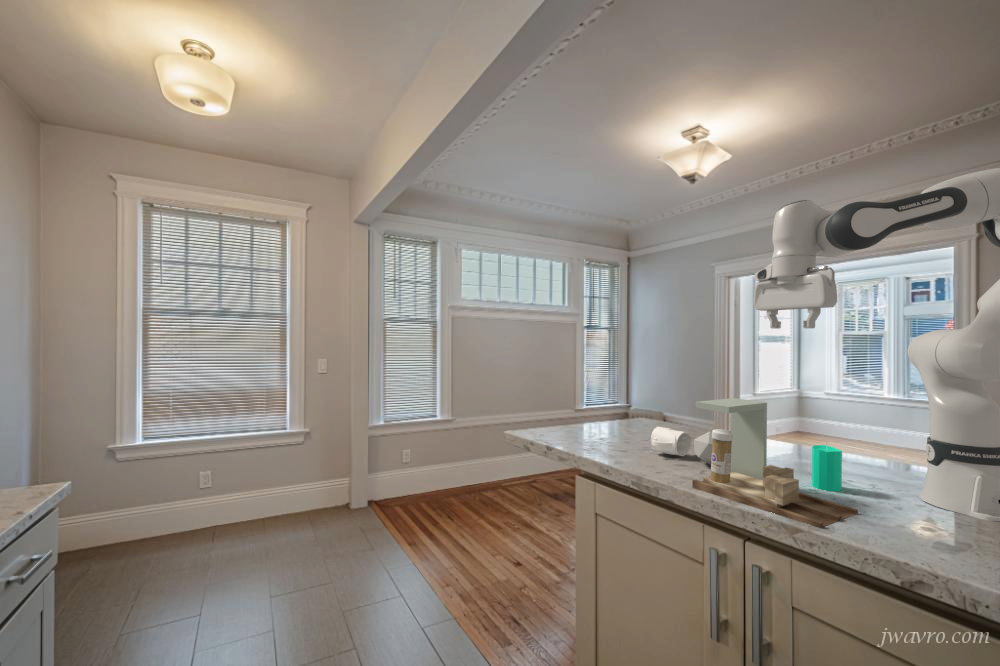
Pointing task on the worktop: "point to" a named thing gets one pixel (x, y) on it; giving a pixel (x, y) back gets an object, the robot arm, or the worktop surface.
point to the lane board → (789, 506)
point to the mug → (671, 441)
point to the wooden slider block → (767, 471)
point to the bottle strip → (775, 490)
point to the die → (704, 447)
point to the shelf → (744, 433)
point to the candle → (826, 468)
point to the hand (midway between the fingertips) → (791, 328)
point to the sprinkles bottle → (721, 455)
